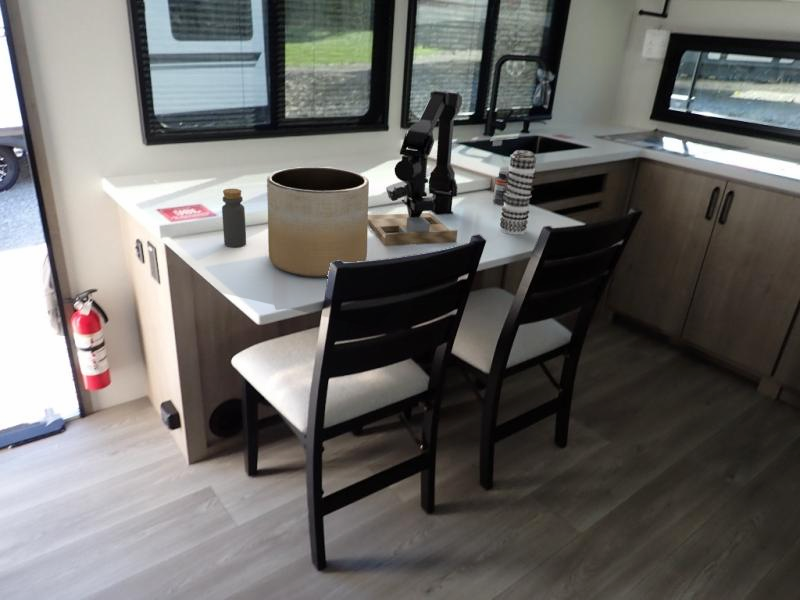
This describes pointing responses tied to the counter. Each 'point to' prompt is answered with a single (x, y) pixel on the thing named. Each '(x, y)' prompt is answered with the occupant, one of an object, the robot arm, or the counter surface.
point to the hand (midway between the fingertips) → (412, 225)
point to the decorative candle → (518, 192)
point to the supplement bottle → (500, 188)
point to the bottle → (233, 218)
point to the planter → (316, 219)
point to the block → (417, 224)
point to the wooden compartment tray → (395, 233)
